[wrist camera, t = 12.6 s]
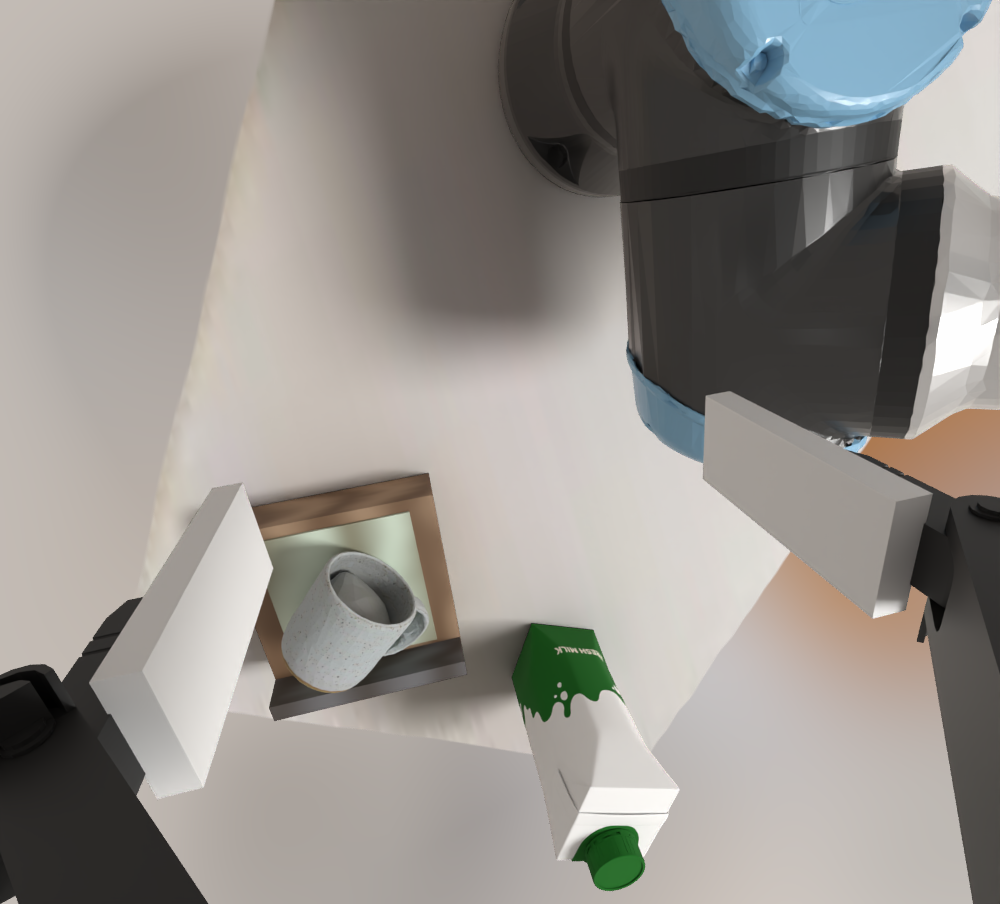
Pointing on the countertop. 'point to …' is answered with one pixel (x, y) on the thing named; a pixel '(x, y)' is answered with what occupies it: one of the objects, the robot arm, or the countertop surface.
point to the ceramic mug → (350, 622)
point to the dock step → (374, 531)
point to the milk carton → (589, 756)
